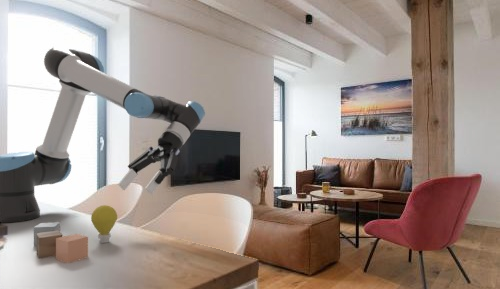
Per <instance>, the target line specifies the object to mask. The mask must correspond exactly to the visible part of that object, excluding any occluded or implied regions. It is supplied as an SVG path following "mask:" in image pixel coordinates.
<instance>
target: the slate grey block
mask: <svg viewBox="0 0 500 289" xmlns="http://www.w3.org/2000/svg"><path fill="white" fill-rule="evenodd" d="M58 230H59V231H60V232H61V221H59V222H58V221H57V222H40V223H38V224H37V225H35V226H34V227H33V247H36V233H43V232H50V231H58Z"/></svg>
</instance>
